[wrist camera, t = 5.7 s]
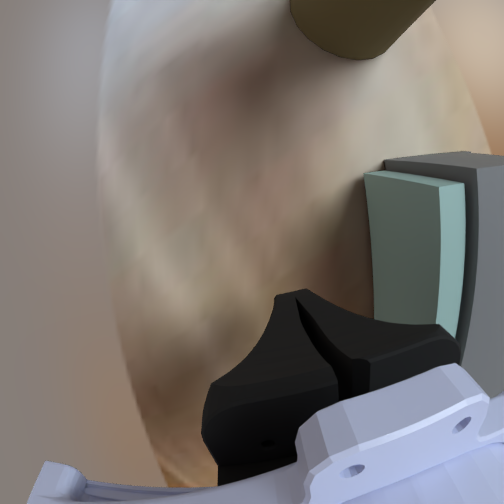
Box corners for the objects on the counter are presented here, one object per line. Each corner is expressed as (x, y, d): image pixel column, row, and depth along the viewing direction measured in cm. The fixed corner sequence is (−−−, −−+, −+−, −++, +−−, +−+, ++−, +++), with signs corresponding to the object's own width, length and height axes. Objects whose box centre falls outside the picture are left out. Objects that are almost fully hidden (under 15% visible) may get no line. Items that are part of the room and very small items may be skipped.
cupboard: (458, 334, 18) (512, 388, 11) (392, 360, 18) (440, 431, 11) (462, 151, 14) (551, 160, 7) (384, 159, 14) (476, 168, 7)
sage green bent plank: (389, 360, 17) (432, 424, 11) (373, 365, 17) (412, 433, 12) (384, 170, 14) (464, 183, 8) (363, 173, 14) (438, 186, 8)
